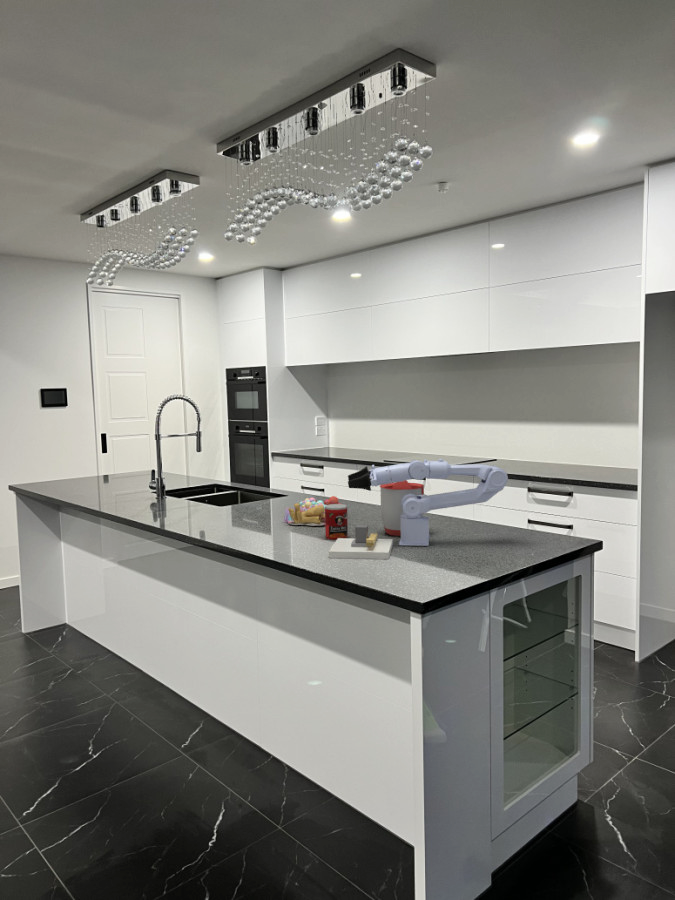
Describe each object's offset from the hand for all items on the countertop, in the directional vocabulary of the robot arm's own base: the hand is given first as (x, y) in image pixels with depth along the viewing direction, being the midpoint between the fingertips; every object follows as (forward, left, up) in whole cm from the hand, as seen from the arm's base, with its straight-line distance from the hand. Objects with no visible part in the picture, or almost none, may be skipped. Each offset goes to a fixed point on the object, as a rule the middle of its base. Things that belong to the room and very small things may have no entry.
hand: (348, 481), depth 218 cm
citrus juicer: (-17, -17, -21) cm, 32 cm away
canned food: (+6, -9, -21) cm, 24 cm away
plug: (-5, +10, -21) cm, 23 cm away
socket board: (-5, +10, -21) cm, 23 cm away
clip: (-8, +9, -18) cm, 22 cm away
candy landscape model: (+19, -38, -21) cm, 48 cm away
